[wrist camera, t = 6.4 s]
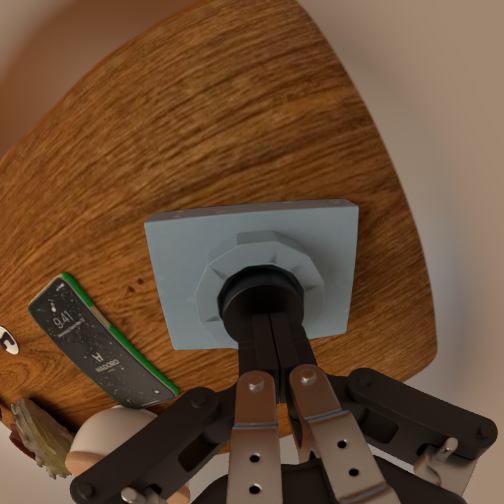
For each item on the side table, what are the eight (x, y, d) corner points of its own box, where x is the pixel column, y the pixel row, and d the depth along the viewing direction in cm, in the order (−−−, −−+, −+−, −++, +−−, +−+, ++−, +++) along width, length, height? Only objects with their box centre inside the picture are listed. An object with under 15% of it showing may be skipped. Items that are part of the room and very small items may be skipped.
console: (345, 198, 17) (374, 214, 13) (336, 316, 20) (355, 349, 16) (153, 212, 16) (132, 233, 12) (178, 331, 20) (169, 368, 16)
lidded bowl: (172, 455, 28) (166, 524, 17) (82, 420, 24) (60, 488, 14) (212, 418, 24) (212, 513, 14) (95, 369, 21) (57, 465, 11)
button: (297, 263, 14) (305, 279, 12) (296, 325, 16) (302, 344, 14) (219, 270, 14) (217, 287, 12) (227, 332, 15) (227, 352, 14)
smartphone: (129, 413, 23) (23, 308, 17) (131, 406, 24) (28, 303, 18) (183, 397, 22) (61, 270, 16) (184, 389, 23) (67, 265, 17)
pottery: (51, 454, 31) (46, 469, 27) (-24, 387, 24) (-33, 402, 20) (77, 454, 29) (72, 473, 25) (-12, 377, 22) (-24, 395, 18)
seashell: (41, 377, 23) (2, 429, 14) (117, 449, 27) (97, 503, 17) (15, 388, 25) (-15, 428, 15) (79, 450, 29) (59, 493, 19)
